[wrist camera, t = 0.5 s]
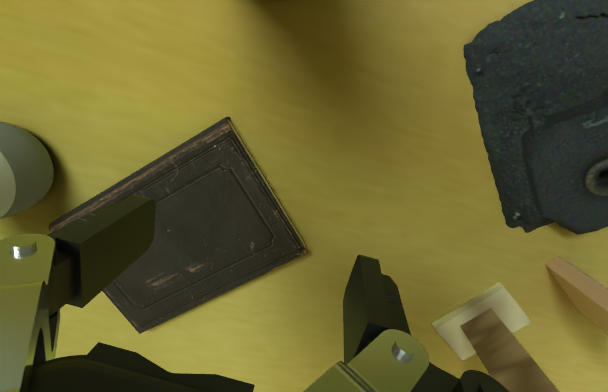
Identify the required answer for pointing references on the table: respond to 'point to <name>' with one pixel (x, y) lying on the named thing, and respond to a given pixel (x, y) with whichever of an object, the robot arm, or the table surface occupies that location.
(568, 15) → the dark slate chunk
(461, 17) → the table surface
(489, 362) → the brown post on base
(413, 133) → the table surface
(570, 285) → the tile
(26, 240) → the robot arm
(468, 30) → the table surface
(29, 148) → the smart speaker
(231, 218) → the hardcover book
